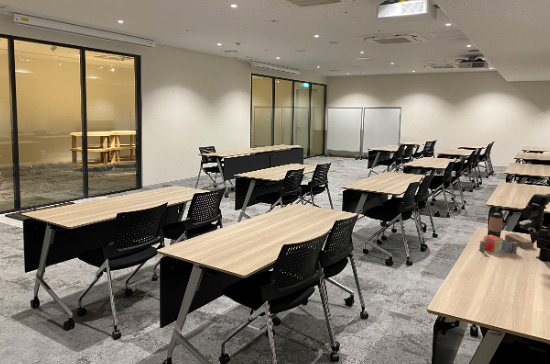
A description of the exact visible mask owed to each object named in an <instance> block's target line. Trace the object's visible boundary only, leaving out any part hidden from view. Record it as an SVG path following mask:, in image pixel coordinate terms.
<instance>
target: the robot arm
mask: <svg viewBox="0 0 550 364" xmlns="http://www.w3.org/2000/svg"><path fill="white" fill-rule="evenodd" d="M549 203H550V193H546V194H541V193H535V194H533V195H531V198H530V199H529V201H528V202H527V204H526V205H525V207H524V208H522V209H521V212H520V215H521V216H522V218H524V219H525V220H522V221H519V223H518V224H519V228H520V229H523V230H526V231H527V232H528V233H529V237H530V241H531V242H532V243H534V244H535V242H536V248H537V249H539V253H538V256H537V255H536V258H537V259H538V260H540V261H541V262H550V223H549V224H548V226H547V228H544V226H543V222H545V219H544V214H545V210H546V209H547V205H549Z"/></svg>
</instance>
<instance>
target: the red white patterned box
mask: <svg viewBox="0 0 550 364" xmlns="http://www.w3.org/2000/svg"><path fill="white" fill-rule="evenodd" d="M487 235H488V234H487ZM487 235H484V236H483V240H482V241H485V242H486V243H485V250H484V251H488V252H492V253H497V252H501V251H503V250H502V243H503V240H504V238H502V237H501V236H500V237H497V236H493V235H488V236H487Z"/></svg>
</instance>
